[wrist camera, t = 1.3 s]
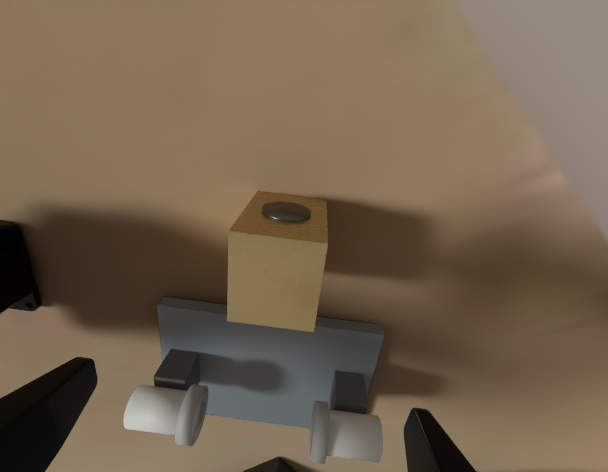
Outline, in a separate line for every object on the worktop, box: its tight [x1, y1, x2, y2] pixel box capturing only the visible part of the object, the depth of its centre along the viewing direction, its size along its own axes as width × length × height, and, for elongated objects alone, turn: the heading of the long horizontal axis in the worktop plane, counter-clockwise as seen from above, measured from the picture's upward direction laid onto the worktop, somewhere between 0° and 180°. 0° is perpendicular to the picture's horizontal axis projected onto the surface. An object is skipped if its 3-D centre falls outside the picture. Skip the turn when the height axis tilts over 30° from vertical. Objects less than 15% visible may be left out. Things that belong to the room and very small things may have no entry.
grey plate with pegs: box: [124, 297, 385, 464], centre depth 20 cm, size 15×10×6 cm, turn 83°
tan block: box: [227, 191, 328, 332], centre depth 16 cm, size 5×4×6 cm
